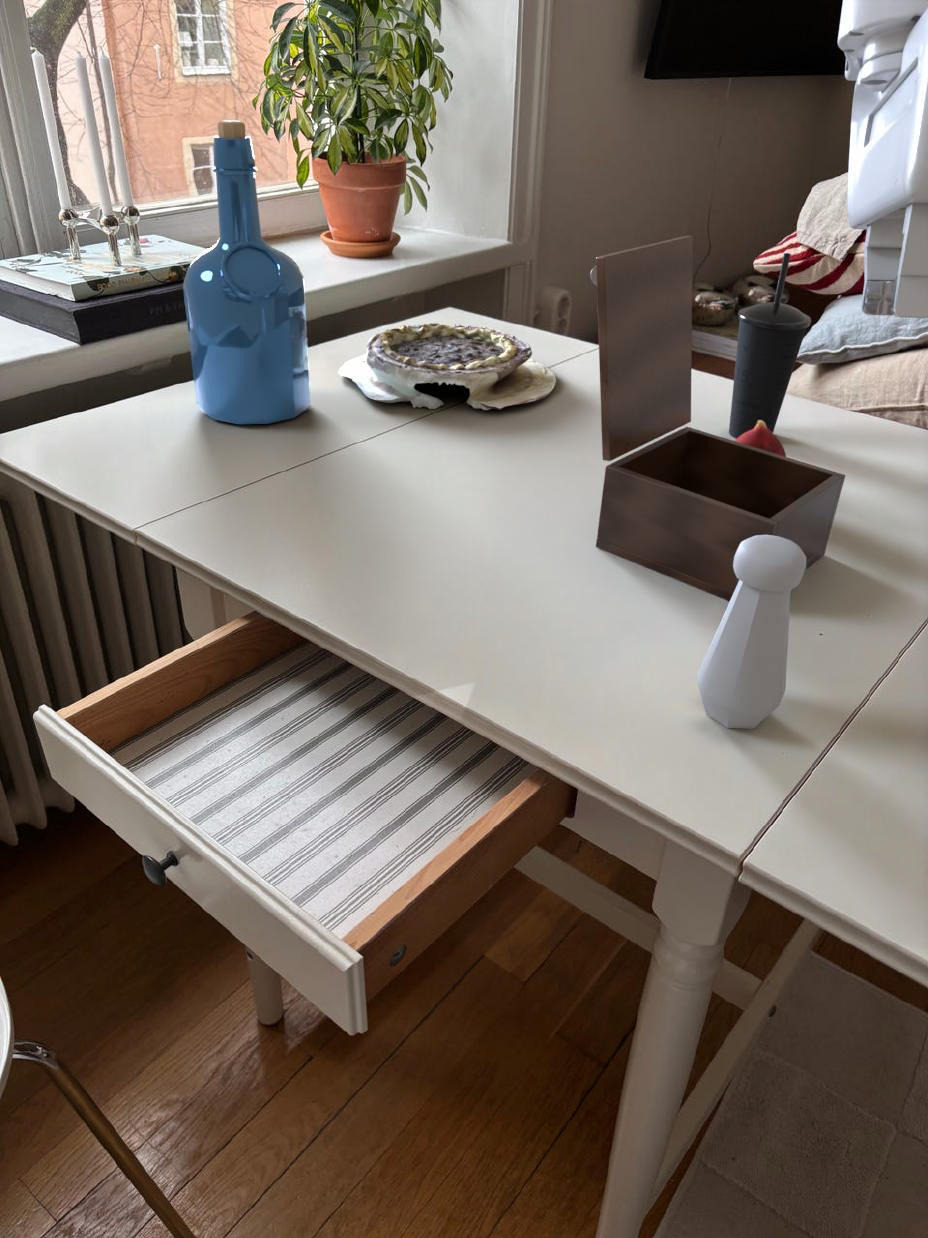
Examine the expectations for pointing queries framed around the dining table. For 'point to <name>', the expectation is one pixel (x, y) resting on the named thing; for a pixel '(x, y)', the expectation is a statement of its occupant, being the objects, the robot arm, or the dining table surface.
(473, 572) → the dining table surface
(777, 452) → the onion
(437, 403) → the pie
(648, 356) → the chest lid
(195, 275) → the wine bottle
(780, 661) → the salt shaker
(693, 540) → the chest
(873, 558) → the dining table surface
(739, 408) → the drinking cup
